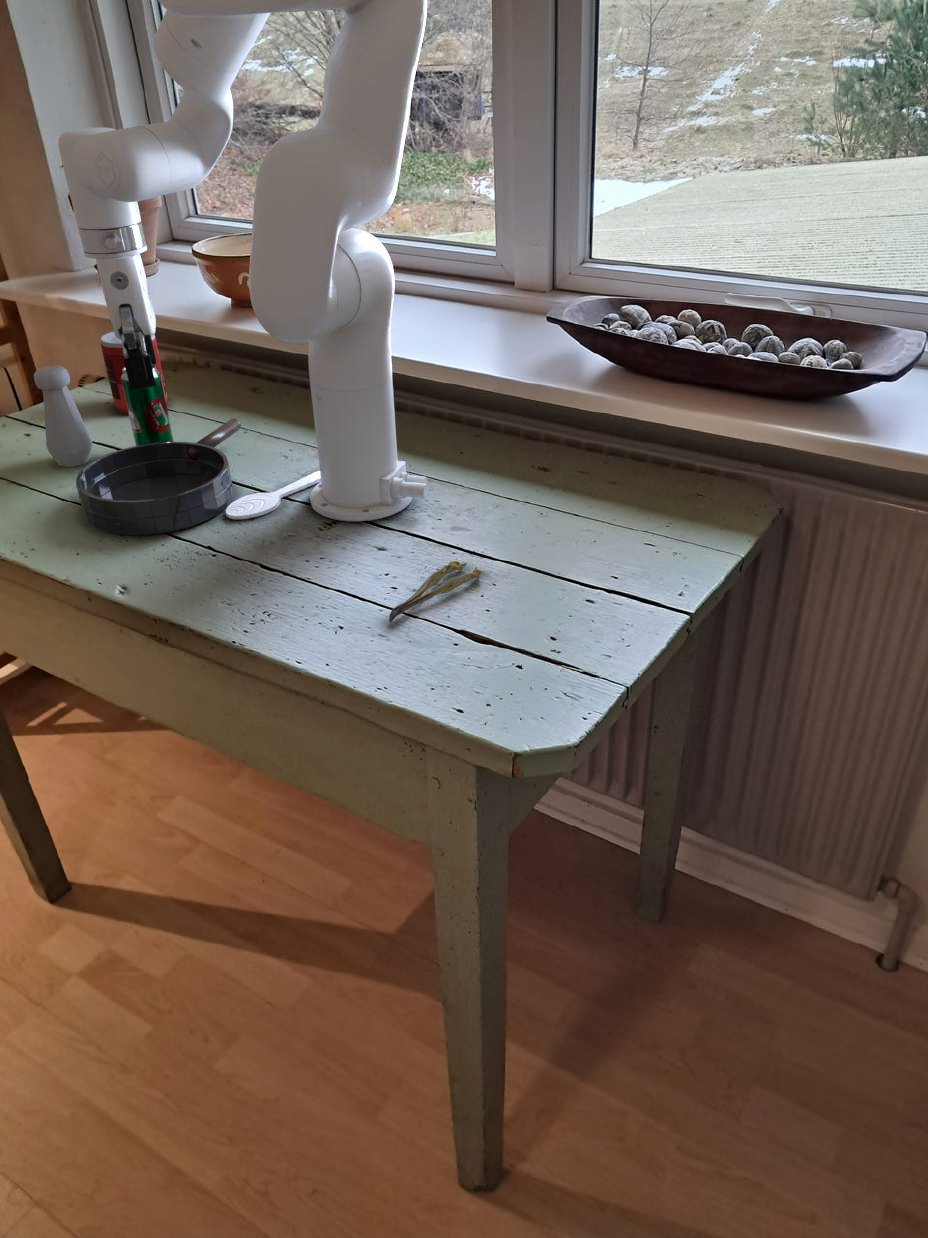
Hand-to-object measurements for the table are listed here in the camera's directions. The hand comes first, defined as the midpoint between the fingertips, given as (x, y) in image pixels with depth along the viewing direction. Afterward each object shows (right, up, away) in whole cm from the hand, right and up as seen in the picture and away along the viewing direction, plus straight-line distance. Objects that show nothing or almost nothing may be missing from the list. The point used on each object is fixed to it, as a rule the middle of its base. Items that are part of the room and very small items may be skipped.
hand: (144, 375), depth 128 cm
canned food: (-8, +1, +22) cm, 23 cm away
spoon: (+20, -17, -6) cm, 27 cm away
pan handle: (+9, -9, +2) cm, 13 cm away
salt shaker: (-11, -11, +4) cm, 16 cm away
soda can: (0, -9, +6) cm, 11 cm away
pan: (+5, -18, -8) cm, 20 cm away
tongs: (+40, -30, -28) cm, 57 cm away
